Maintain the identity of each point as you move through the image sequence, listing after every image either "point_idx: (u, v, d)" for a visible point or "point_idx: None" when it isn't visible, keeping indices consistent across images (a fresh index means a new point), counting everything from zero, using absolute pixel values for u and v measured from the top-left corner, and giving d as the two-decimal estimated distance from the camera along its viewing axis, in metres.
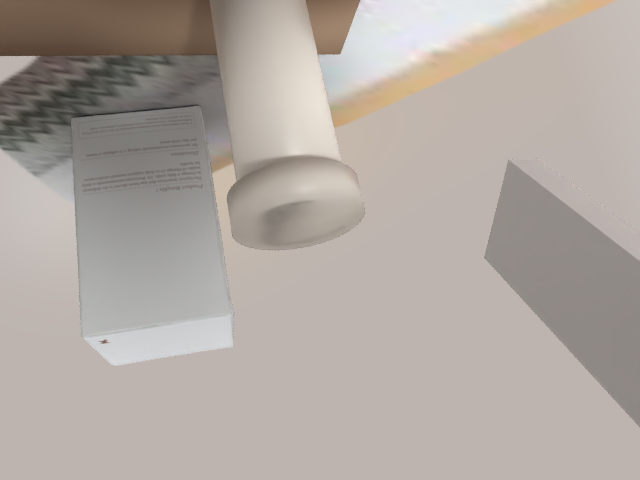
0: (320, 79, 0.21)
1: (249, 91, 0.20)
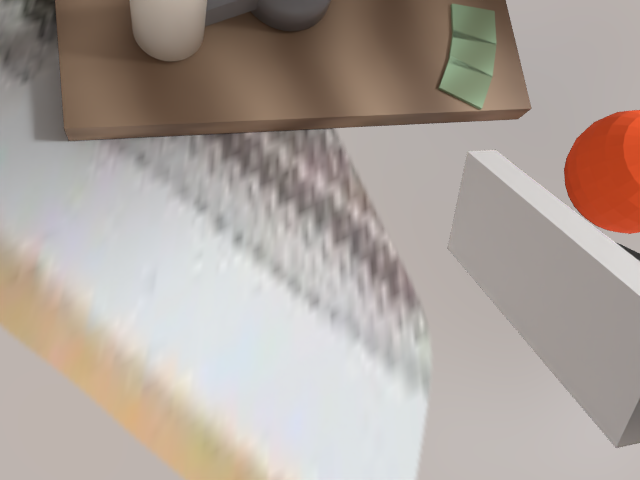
0: None
1: None
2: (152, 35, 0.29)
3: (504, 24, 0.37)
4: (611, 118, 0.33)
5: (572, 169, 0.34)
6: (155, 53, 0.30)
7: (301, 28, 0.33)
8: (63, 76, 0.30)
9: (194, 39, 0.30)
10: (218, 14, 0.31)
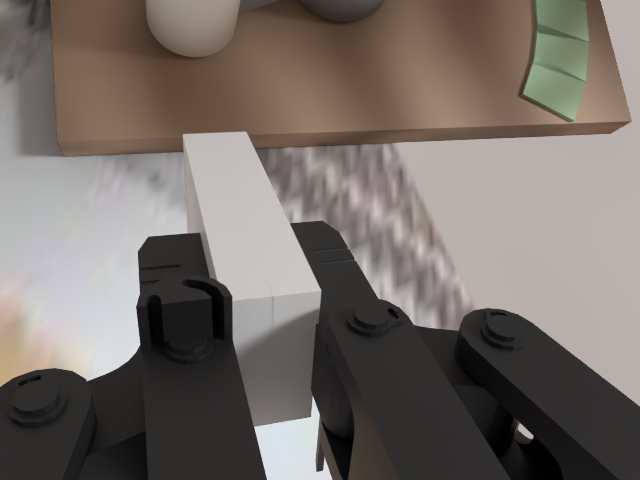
0: None
1: None
2: (173, 23, 0.22)
3: (596, 18, 0.30)
4: None
5: None
6: (175, 46, 0.24)
7: (356, 18, 0.27)
8: (57, 74, 0.23)
9: (225, 29, 0.24)
10: None
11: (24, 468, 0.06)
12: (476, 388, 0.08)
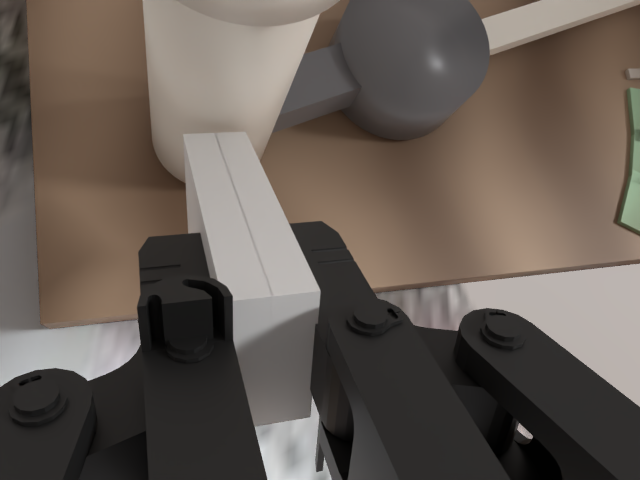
0: (279, 88, 0.14)
1: None
2: None
3: None
4: None
5: None
6: None
7: (415, 136, 0.21)
8: (41, 230, 0.18)
9: None
10: (292, 118, 0.19)
11: (24, 468, 0.06)
12: (475, 388, 0.08)
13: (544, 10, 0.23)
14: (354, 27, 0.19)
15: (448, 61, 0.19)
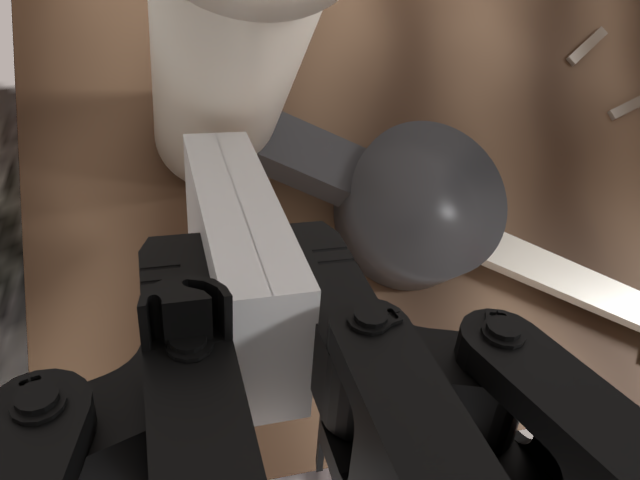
0: (225, 100, 0.14)
1: None
2: (156, 122, 0.17)
3: None
4: None
5: None
6: (157, 146, 0.19)
7: (374, 279, 0.20)
8: None
9: None
10: (276, 171, 0.19)
11: (24, 468, 0.06)
12: (475, 388, 0.09)
13: (585, 279, 0.21)
14: (385, 144, 0.18)
15: (442, 235, 0.18)
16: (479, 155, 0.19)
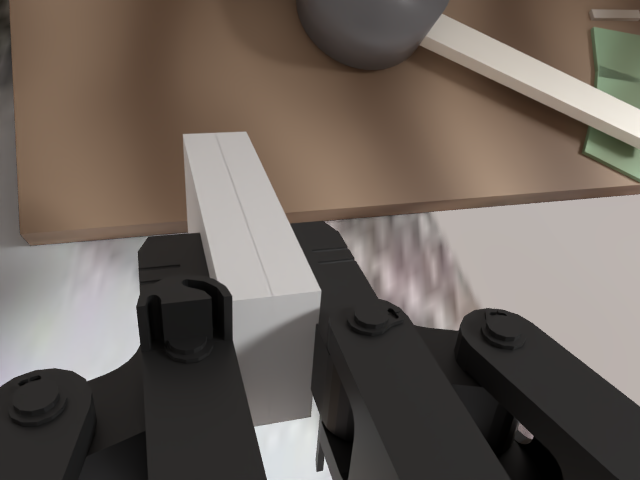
0: None
1: None
2: None
3: None
4: None
5: None
6: None
7: (333, 55, 0.21)
8: (21, 146, 0.19)
9: None
10: None
11: (24, 468, 0.06)
12: (476, 389, 0.08)
13: (529, 65, 0.23)
14: None
15: None
16: None
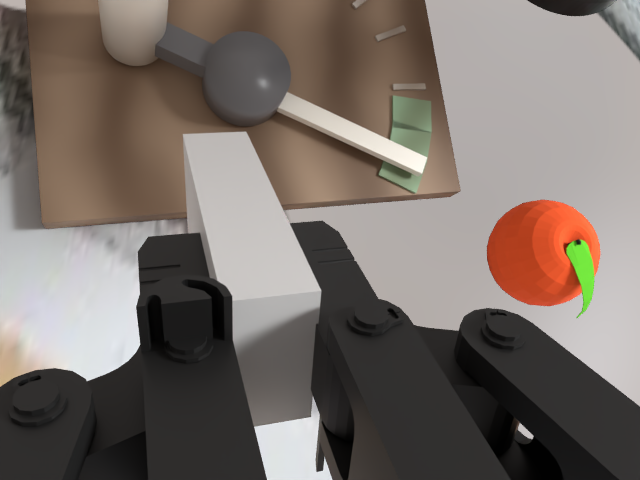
0: (130, 8, 0.30)
1: None
2: (101, 25, 0.34)
3: (439, 113, 0.42)
4: (525, 209, 0.38)
5: (492, 250, 0.39)
6: (103, 41, 0.35)
7: (223, 118, 0.37)
8: (41, 174, 0.34)
9: (130, 54, 0.35)
10: (166, 55, 0.35)
11: (23, 468, 0.06)
12: (476, 389, 0.08)
13: (342, 124, 0.38)
14: (224, 42, 0.35)
15: (253, 90, 0.35)
16: (277, 51, 0.36)
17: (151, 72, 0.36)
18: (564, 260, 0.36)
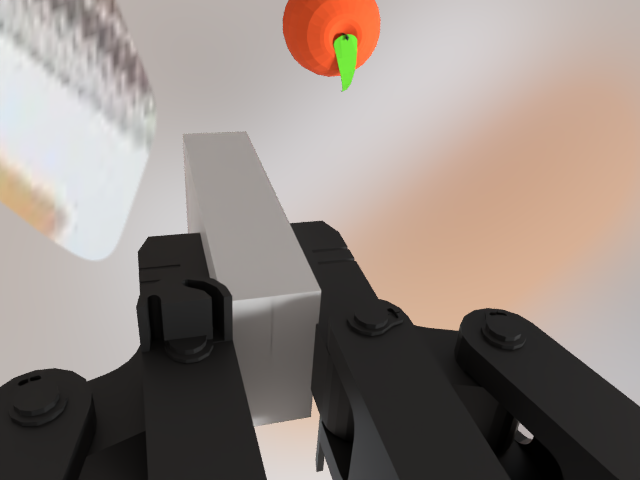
0: None
1: None
2: None
3: None
4: None
5: (284, 15, 0.42)
6: None
7: None
8: None
9: None
10: None
11: (24, 468, 0.06)
12: (475, 388, 0.08)
13: None
14: None
15: None
16: None
17: None
18: (330, 50, 0.41)
